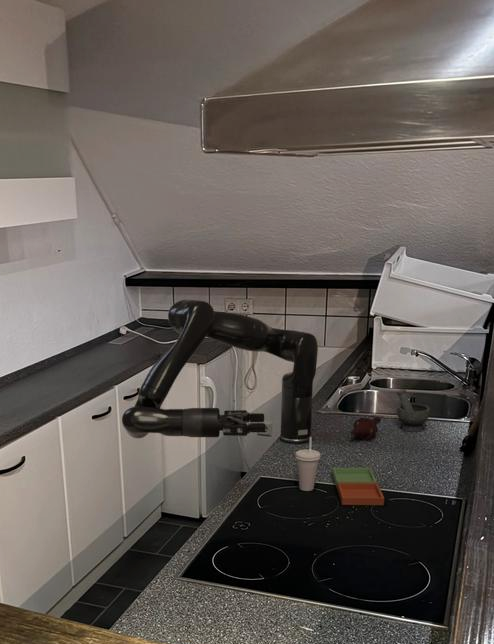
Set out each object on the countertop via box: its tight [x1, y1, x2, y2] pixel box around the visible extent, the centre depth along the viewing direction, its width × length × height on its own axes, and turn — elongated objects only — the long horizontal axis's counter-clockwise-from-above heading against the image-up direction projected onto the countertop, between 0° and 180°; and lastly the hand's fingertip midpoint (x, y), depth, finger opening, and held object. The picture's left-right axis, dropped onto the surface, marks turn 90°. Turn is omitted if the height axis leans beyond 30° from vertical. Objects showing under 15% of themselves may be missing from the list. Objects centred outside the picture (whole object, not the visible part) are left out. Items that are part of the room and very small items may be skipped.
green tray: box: [331, 467, 378, 489], centre depth 203 cm, size 10×10×2 cm
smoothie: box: [294, 436, 321, 492], centre depth 197 cm, size 6×6×14 cm
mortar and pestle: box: [396, 388, 431, 432], centre depth 242 cm, size 11×9×12 cm
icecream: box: [350, 416, 382, 441], centre depth 234 cm, size 7×7×15 cm
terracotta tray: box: [336, 482, 385, 506], centre depth 192 cm, size 10×10×2 cm
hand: (264, 422), depth 193 cm, fingers open, 8 cm apart
